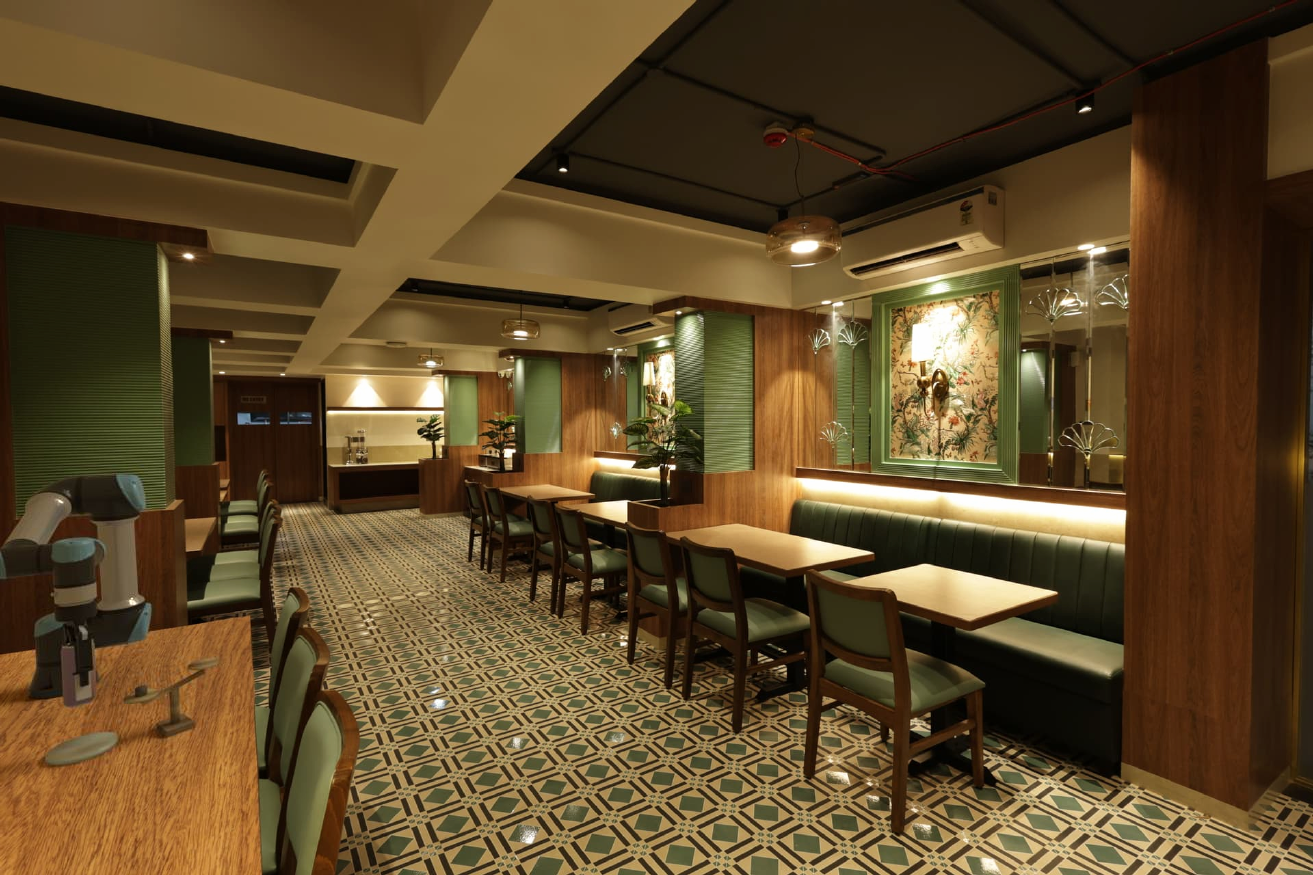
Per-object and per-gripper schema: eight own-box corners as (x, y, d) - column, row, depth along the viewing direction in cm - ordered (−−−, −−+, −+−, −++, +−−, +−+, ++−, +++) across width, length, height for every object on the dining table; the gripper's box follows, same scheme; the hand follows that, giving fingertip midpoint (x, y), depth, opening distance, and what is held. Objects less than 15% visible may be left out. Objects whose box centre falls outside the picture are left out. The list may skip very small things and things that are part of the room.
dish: (39, 754, 148) (38, 749, 148) (108, 731, 159) (108, 726, 159) (52, 771, 141) (52, 766, 141) (125, 746, 151) (124, 741, 151)
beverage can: (76, 709, 146) (73, 647, 145) (56, 706, 147) (54, 646, 146) (103, 697, 152) (100, 638, 151) (84, 695, 153) (81, 637, 152)
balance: (120, 740, 154) (117, 682, 154) (214, 707, 171) (212, 655, 170) (130, 750, 150) (128, 690, 149) (226, 715, 167) (224, 661, 166)
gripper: (44, 599, 151) (49, 691, 151) (65, 612, 140) (69, 711, 141) (85, 592, 157) (89, 680, 158) (107, 604, 146) (111, 698, 147)
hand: (79, 694), depth 149 cm, fingers closed on beverage can, 6 cm apart
